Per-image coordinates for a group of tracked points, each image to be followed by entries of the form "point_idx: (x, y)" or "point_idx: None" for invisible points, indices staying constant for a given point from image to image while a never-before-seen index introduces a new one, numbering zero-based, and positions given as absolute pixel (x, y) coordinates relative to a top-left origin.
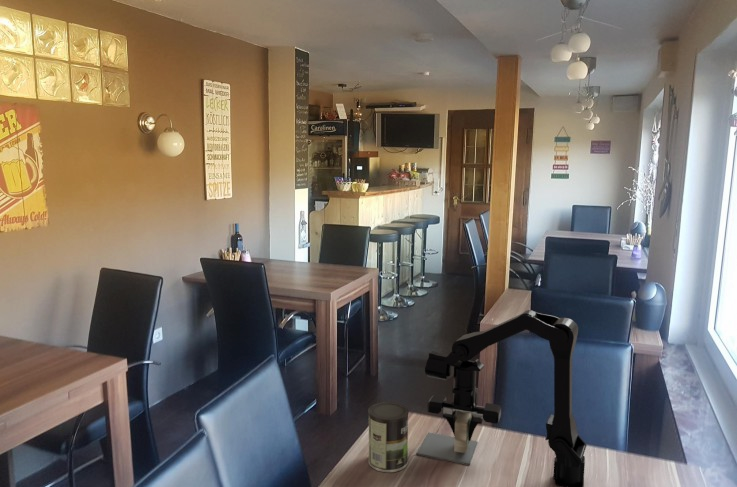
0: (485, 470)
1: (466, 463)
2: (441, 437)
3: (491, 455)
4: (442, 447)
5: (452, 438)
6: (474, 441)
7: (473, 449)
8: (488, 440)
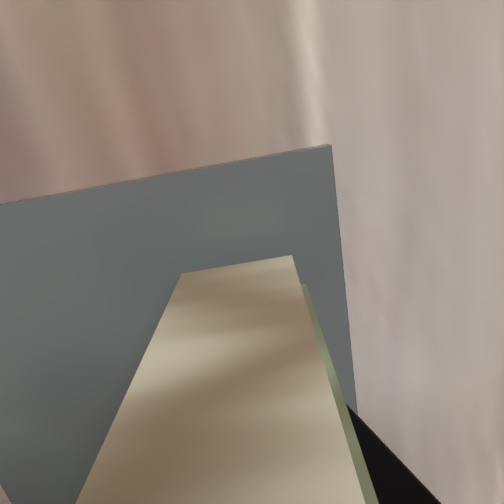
0: (465, 455)
1: None
2: (8, 257)
3: (483, 278)
4: (111, 389)
5: (98, 223)
6: (303, 165)
7: (337, 302)
8: (417, 17)
